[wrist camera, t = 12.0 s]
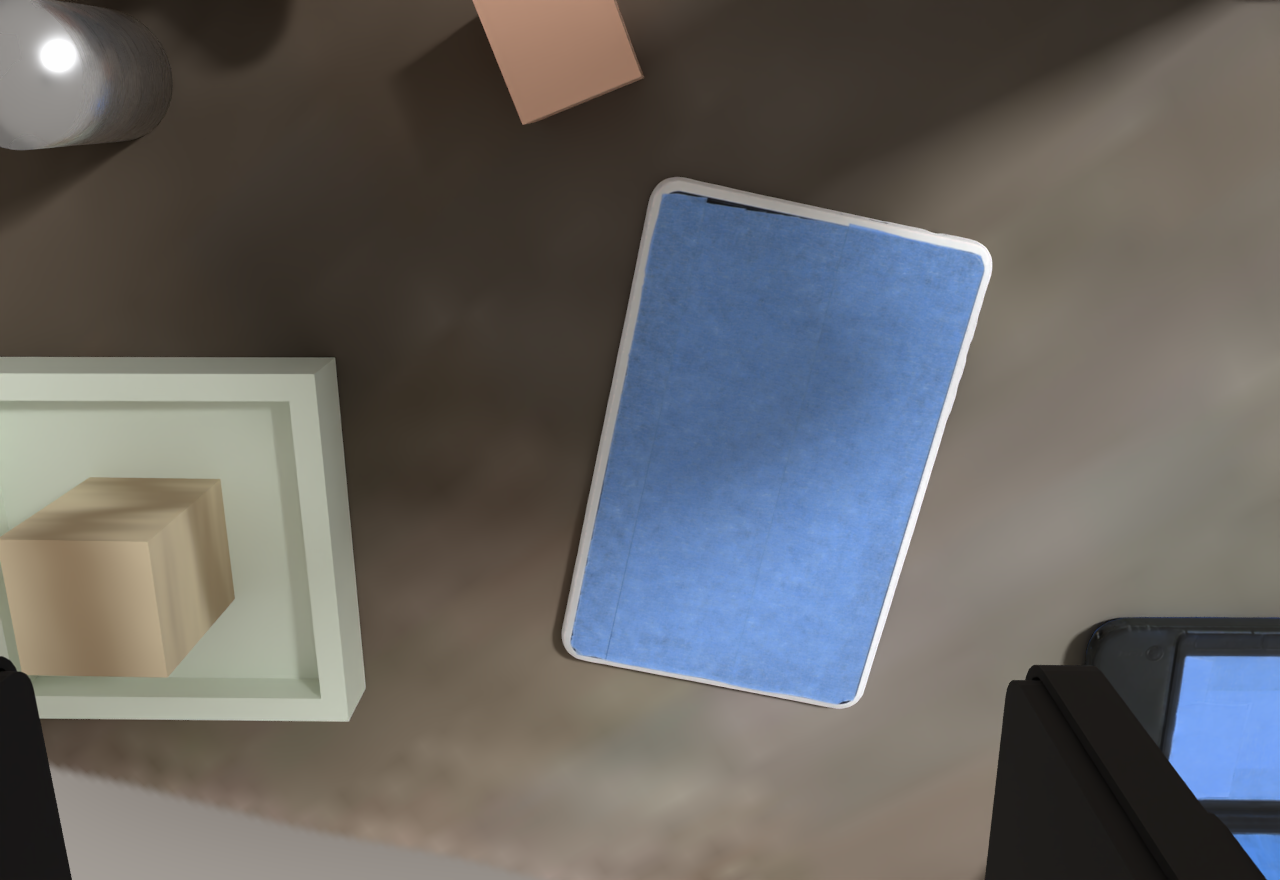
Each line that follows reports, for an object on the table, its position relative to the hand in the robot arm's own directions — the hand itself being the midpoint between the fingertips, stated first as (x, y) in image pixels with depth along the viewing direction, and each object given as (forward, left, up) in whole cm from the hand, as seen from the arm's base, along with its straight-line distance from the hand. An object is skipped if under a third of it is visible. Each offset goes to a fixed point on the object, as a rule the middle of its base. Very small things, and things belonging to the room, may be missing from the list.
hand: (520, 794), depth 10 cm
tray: (+18, +10, -30) cm, 37 cm away
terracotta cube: (+2, -8, -30) cm, 31 cm away
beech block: (+18, +10, -29) cm, 36 cm away
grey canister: (+18, -7, -30) cm, 36 cm away
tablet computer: (-5, +7, -31) cm, 32 cm away
